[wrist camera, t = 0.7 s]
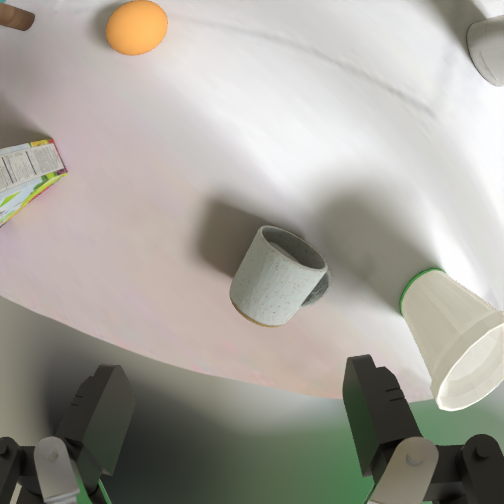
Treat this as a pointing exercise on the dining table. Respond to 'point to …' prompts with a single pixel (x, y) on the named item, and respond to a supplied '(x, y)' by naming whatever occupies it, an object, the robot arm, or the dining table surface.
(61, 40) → the dining table surface
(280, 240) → the ceramic mug
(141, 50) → the ball
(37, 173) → the snack box
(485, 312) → the cup
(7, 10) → the post
